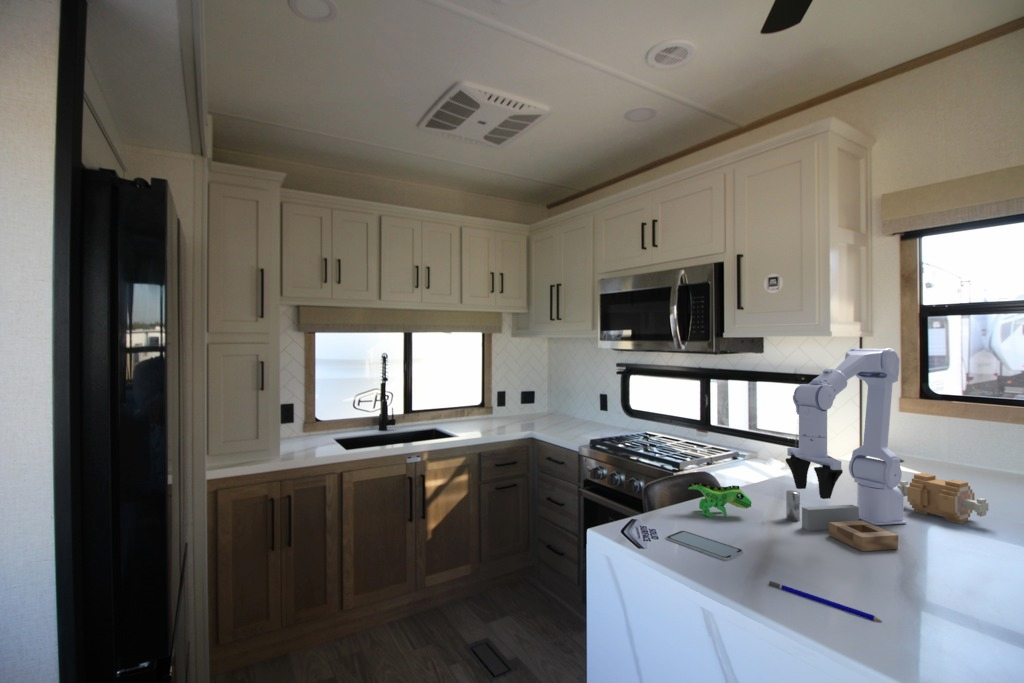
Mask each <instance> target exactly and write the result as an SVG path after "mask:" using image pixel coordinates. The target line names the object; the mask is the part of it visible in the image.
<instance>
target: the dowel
mask: <svg viewBox="0 0 1024 683" xmlns="http://www.w3.org/2000/svg"><path fill="white" fill-rule="evenodd" d="M800 493H801V492H799V491H797V490H791V489H790V490H789V489H788V490H786V491H785V496H786V499H785V500H786V503H785V504H786V506H785V508H786V511H785V514H786V516H785V519H786V520H787V521H791V522H800V521H801V519H800V518H801V514H800V513H801V510H800V509H801V504H800V503H801V497H800V496H801V494H800Z"/></svg>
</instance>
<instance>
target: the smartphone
mask: <svg viewBox="0 0 1024 683" xmlns="http://www.w3.org/2000/svg"><path fill="white" fill-rule="evenodd" d="M666 540H667V541H670V542H673V543H675V544H679V545H681V546H684V547H687V548H688V549H689V548H690V549H692V550H695V551H697V552H700V553H703V554H705V555H708V556H711V557H714V558H715V559H719V560H722V561H726V562H729V561H731V560H733V559H735V558H737V557H739V556H741V555H743V554H744V550H743V549H741V548H739V547H737V546H736V547H735V546H732V545H730V544H726V543H724V542H720V541H718V540H716V539H715V540H714V539H710V538H708V537H706V536H702V535H699V534H696V533H693V532H691V531H690V532H689V531H686V530H679V531H677V532H674V533H672V534H669V535H666Z"/></svg>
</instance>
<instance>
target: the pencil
mask: <svg viewBox="0 0 1024 683" xmlns="http://www.w3.org/2000/svg"><path fill="white" fill-rule="evenodd" d="M768 584H769V586H770V587H772V588H776V589H779V590H782V591H785V592H788V593H791V594H793V595H796V596H799V597H802V598H806V599H808V600H812V601H814V602H816V603H820V604H823V605H826V606H829V607H832V608H835V609H838V610H841V611H843V612H847V613H849V614H852V615H856V616H859V617H861V618H864V619H868V620H870V621H874V622H883V621H882V620H881V619H880V618H879V617H877V616H876V615H874V614H870V613H868V612H865V611H862V610H859V609H856V608H853V607H850V606H847V605H844V604H840V603H838V602H835V601H831V600H829V599H826V598H822V597H820V596H817V595H814V594H811V593H807V592H805V591H801V590H798V589H797V588H792V587H789V586H786V585H785V584H784V585H783V584H781V583H778V582H775V581H772V580H770V581H769V582H768Z"/></svg>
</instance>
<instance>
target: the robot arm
mask: <svg viewBox="0 0 1024 683" xmlns="http://www.w3.org/2000/svg"><path fill="white" fill-rule="evenodd" d="M900 364H901V362H900V357H899V356H898V353H897V352H896V351H895V350H894V348H890V347H887V348H856V347H855V348H853V347H852V348H850V349H849V350H848V351H846V352H845V354H844V360H843V361H842V362H841V363H840V364H839V365H838V366H837V367H836V368H825V369H823V370H822V373H820V374H819V375H818V376H816V377H815V378H813V379H812V380H811V381H810V382H809V383H801V384H800V385H798V386H797V387H796V388H795V389H794V392H793V395H792V401H793V403H794V405H795V410H796V411H795V413H796V414H797V415H798V448H796V447H787V456H789V458H785V462H786V465H787V466H788V467H789V469H790V472H791V474H792V477H793V482H794V485H795V489H798V490H802V489H803V490H805V489H806V488H807V486H808V485H807V482H808V473H809V468H810V465H811V463H813V464H817V465H819V466H814V467H813V470H814V471H815V474H816V477H817V483H818V492H819V497H820V499H822V500H826V499H827V500H828V499H831V497H832V494H833V491H834V489H835V485H836V483H837V482H838V480H839V478H840V477H841V475H842V474H843V469H842V461H841V460H839V459H836V458H834V457H833V456H830V455H828V410H830V409H831V408H832V406H833V403H834V400H836V396H837V395H838V394H840V393H841V392H842V391H844V390H845V389H846V388H847V386H848V381H849V380H850V379H851V378H853V377H856V378H858V379H859V380H861V381H863V382H865V384H866V385H867V395H866V396H867V397H866V406H865V419H864V430H863V431H864V432H863V442H862V443H863V444H862V445H861V446H859V447H857V448H855V449H853V450H852V455H851V458H850V460H849V464H848V473H849V474H850V476H851V478H852V479H854V483H856V484H857V486H856V487H857V492H856V494H857V498H856V499H857V500H856V501H857V505H856V506H857V507H859V520H860V521H865V522H867V523H870V524H872V525H874V526H880V525H881V526H882V525H899V524H902V525H903V524H907V520H904V497H903V495H902V492H901V491H900V489H899V488H898V487H897V485H900V481H902V475H903V474H902V469H901V459H900V457H898V455H896V454H895V453H894V452H893V451H892V450H890V449H889V446H888V445H889V436H890V421H891V409H892V406H891V405H892V396H893V384H894V383H896V382H898V381H899V376H900V375H899V374H900Z"/></svg>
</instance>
